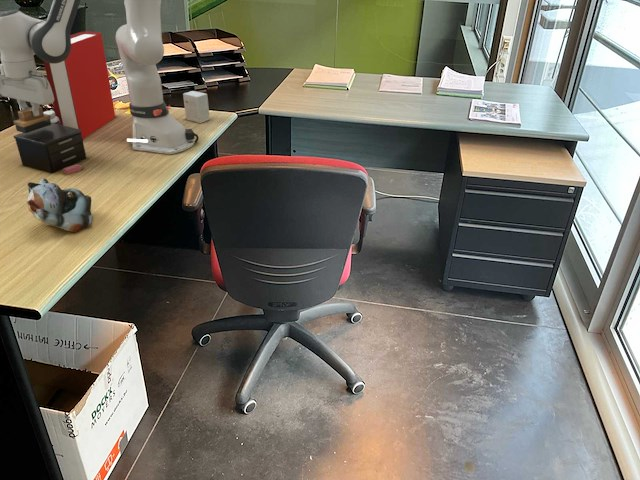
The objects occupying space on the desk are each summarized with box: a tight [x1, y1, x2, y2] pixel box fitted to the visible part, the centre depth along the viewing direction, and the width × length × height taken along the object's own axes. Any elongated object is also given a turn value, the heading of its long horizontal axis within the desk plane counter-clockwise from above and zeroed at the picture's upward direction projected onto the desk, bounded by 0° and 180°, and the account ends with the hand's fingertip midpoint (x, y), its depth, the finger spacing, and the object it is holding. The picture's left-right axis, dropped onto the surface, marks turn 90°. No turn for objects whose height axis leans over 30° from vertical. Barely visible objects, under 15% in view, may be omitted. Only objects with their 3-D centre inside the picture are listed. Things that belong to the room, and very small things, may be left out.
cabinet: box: [13, 123, 87, 175], centre depth 173 cm, size 14×14×10 cm
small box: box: [182, 90, 211, 124], centre depth 213 cm, size 8×6×10 cm
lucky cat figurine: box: [26, 178, 94, 233], centre depth 137 cm, size 15×12×14 cm
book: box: [43, 30, 116, 139], centre depth 197 cm, size 27×8×32 cm, turn 172°
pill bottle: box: [43, 110, 61, 125], centre depth 190 cm, size 5×5×10 cm
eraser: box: [62, 163, 82, 175], centre depth 169 cm, size 5×2×1 cm, turn 140°
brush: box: [12, 105, 51, 133], centre depth 169 cm, size 4×10×6 cm, turn 154°
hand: (31, 114), depth 168 cm, fingers closed on brush, 2 cm apart
